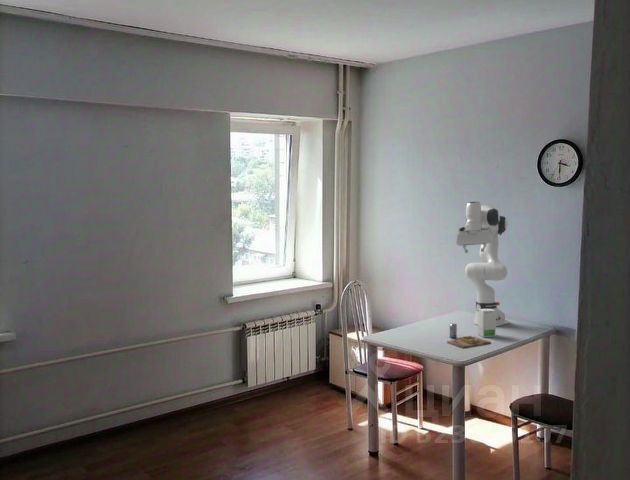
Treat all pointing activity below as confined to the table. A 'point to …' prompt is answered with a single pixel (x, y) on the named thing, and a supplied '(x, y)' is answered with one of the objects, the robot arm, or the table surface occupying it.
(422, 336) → the table surface
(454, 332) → the cylinder
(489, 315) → the skincare box
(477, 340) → the collar board
